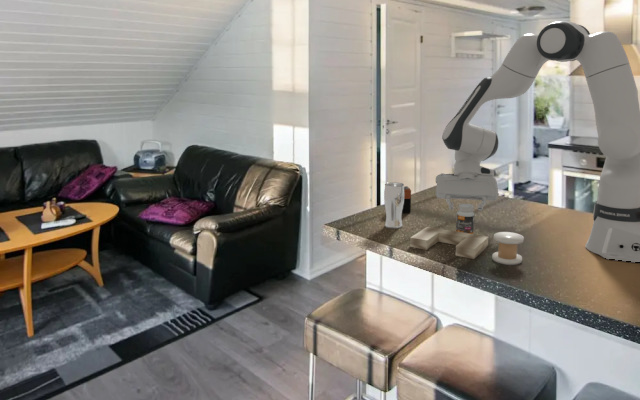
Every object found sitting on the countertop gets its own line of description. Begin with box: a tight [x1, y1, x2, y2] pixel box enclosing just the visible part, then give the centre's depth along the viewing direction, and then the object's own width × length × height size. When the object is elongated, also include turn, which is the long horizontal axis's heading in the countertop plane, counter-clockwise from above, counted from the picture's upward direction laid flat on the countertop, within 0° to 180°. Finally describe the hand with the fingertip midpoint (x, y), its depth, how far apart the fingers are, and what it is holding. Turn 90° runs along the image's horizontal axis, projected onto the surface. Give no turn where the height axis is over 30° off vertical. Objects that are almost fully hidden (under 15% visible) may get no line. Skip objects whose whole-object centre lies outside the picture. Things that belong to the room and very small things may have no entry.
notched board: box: [409, 226, 489, 260], centre depth 156 cm, size 20×13×3 cm, turn 55°
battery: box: [402, 185, 412, 214], centre depth 194 cm, size 4×7×10 cm, turn 90°
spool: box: [491, 231, 525, 266], centre depth 144 cm, size 8×8×7 cm
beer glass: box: [383, 181, 405, 230], centre depth 176 cm, size 7×7×15 cm
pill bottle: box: [455, 203, 476, 234], centre depth 166 cm, size 6×6×10 cm
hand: (465, 209), depth 168 cm, fingers open, 8 cm apart
